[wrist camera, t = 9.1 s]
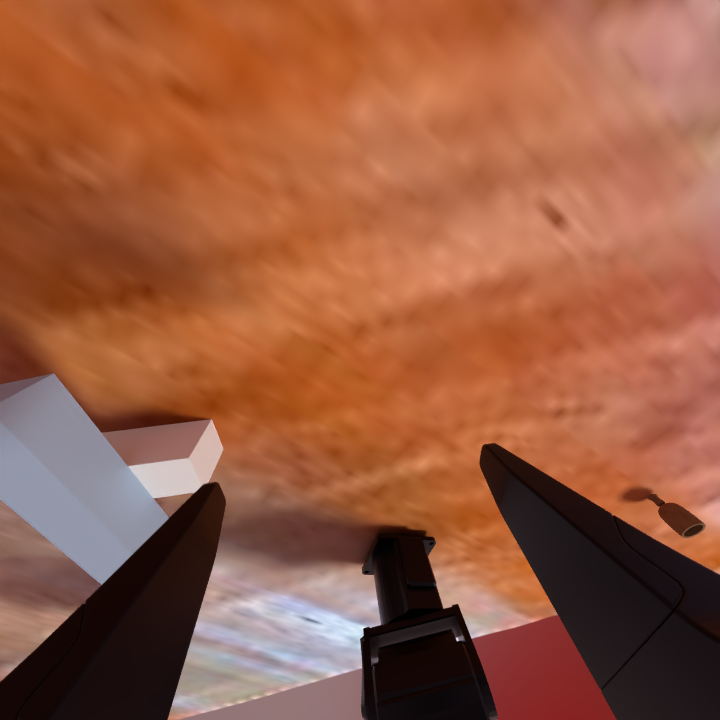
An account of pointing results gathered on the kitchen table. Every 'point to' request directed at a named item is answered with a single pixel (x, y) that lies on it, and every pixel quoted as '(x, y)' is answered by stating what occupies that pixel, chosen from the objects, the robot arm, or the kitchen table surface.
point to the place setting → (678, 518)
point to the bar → (70, 478)
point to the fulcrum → (169, 455)
